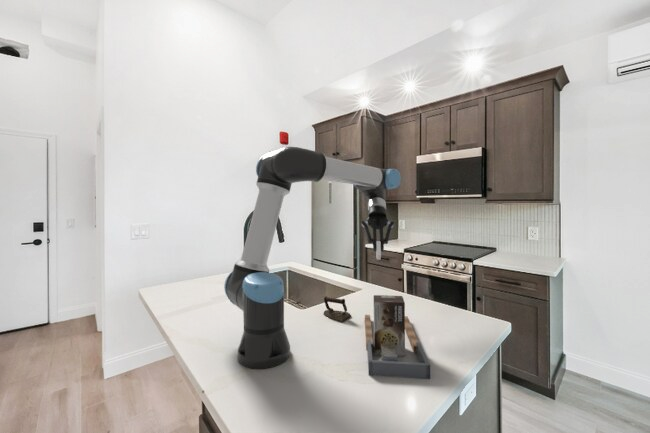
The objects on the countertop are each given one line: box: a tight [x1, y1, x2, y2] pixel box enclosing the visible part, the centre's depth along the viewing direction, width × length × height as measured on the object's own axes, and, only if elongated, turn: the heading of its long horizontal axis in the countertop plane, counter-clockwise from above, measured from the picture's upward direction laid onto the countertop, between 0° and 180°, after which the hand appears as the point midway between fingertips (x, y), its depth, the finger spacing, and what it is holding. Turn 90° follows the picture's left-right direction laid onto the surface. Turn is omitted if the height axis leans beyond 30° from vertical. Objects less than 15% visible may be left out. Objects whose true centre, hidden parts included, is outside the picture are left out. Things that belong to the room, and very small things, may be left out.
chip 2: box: [382, 349, 399, 362], centre depth 82 cm, size 4×4×4 cm
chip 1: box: [380, 342, 396, 361], centre depth 86 cm, size 4×4×4 cm
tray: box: [366, 339, 431, 380], centre depth 83 cm, size 13×16×4 cm
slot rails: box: [364, 314, 419, 354], centre depth 102 cm, size 24×16×2 cm, turn 174°
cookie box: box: [373, 294, 406, 357], centre depth 90 cm, size 9×6×16 cm
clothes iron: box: [323, 295, 352, 323], centre depth 118 cm, size 7×11×10 cm, turn 57°
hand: (378, 257), depth 109 cm, fingers closed
